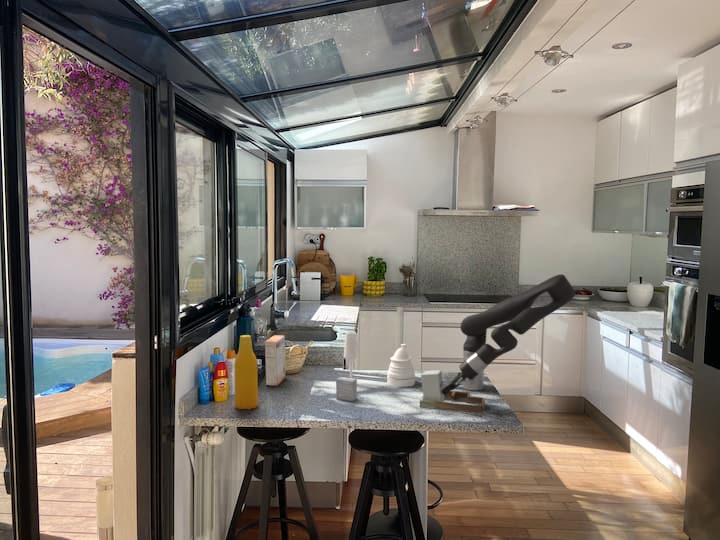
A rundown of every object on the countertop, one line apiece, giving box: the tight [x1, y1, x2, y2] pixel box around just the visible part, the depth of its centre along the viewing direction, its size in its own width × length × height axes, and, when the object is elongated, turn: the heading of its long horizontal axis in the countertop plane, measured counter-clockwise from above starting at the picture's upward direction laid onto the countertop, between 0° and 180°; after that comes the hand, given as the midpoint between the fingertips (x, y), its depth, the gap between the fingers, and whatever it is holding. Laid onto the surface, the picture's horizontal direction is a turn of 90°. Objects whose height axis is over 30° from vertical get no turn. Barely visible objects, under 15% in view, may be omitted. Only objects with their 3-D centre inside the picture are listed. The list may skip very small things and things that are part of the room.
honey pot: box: [386, 343, 416, 388], centre depth 259 cm, size 13×13×18 cm
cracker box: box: [264, 334, 286, 387], centre depth 261 cm, size 14×6×21 cm, turn 172°
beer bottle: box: [233, 334, 259, 410], centre depth 225 cm, size 9×9×29 cm
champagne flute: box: [343, 331, 359, 386], centre depth 257 cm, size 7×7×24 cm
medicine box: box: [335, 376, 358, 402], centre depth 236 cm, size 8×4×9 cm, turn 65°
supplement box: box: [420, 369, 445, 402], centre depth 230 cm, size 7×7×13 cm
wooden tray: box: [419, 390, 486, 414], centre depth 230 cm, size 17×25×2 cm
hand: (443, 393), depth 228 cm, fingers closed
